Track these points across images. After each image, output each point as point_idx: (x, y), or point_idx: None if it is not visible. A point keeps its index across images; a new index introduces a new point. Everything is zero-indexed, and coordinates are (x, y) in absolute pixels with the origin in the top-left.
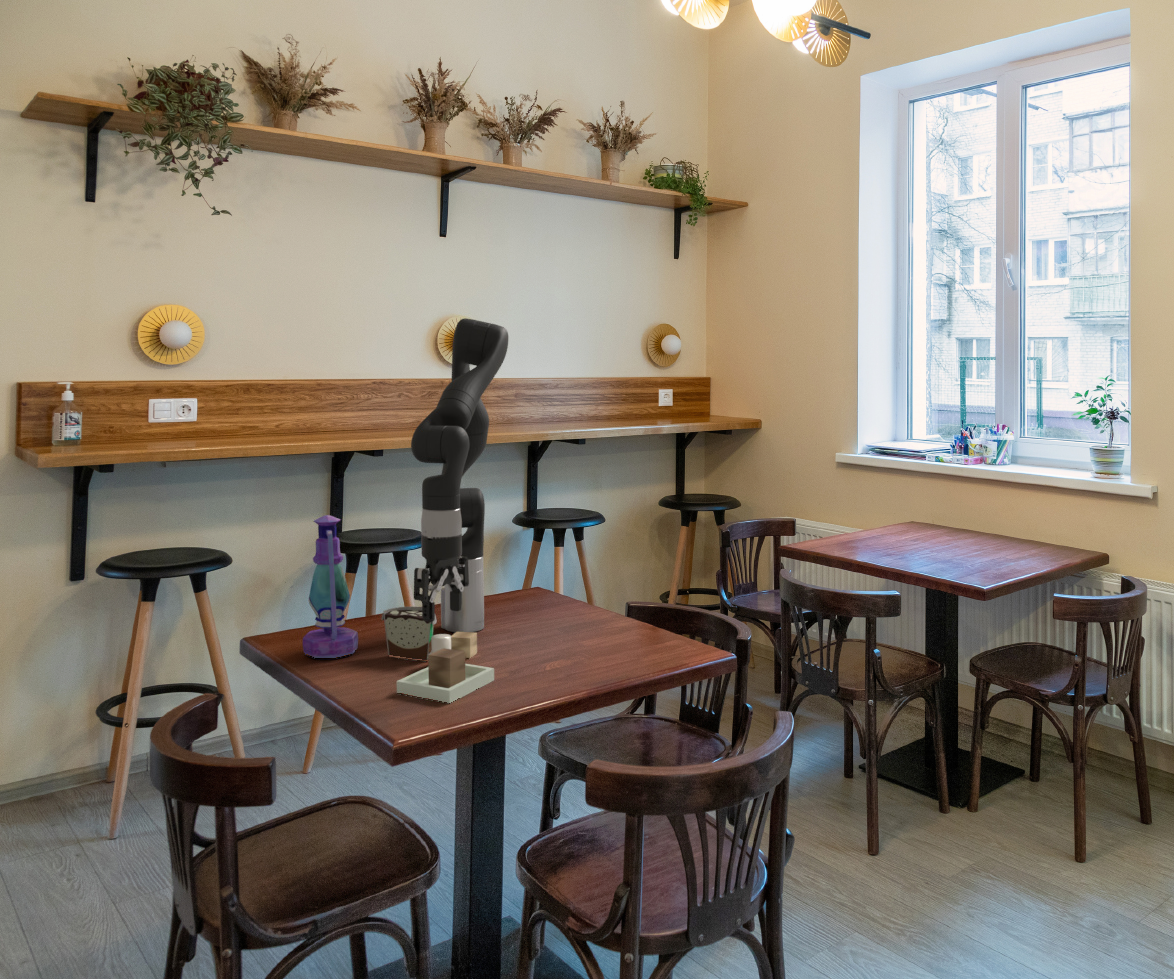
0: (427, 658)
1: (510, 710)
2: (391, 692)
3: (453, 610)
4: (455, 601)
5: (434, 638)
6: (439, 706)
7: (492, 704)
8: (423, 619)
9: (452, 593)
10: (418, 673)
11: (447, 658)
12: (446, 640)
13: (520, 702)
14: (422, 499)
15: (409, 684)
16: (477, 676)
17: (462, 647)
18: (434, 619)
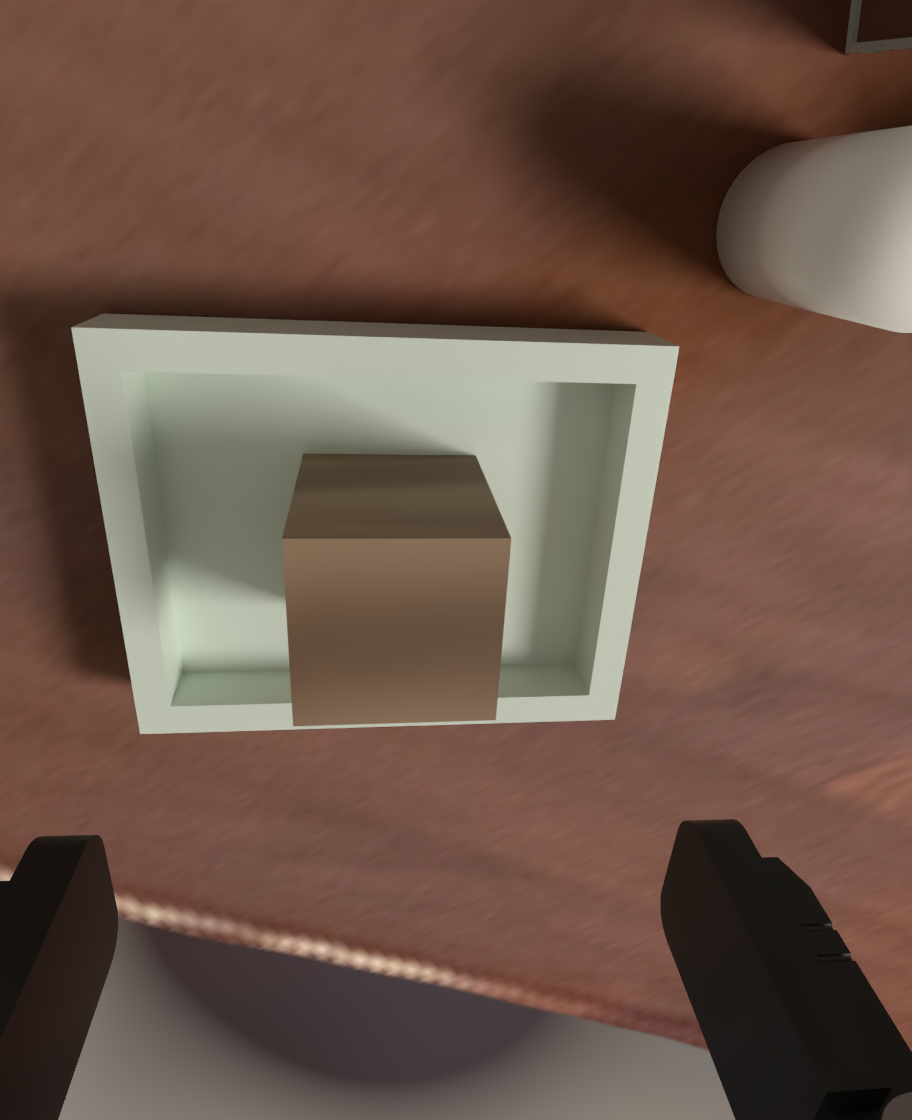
0: (862, 47)
1: (249, 922)
2: (103, 256)
3: (672, 851)
4: (723, 994)
5: (862, 204)
6: (94, 666)
7: (272, 838)
8: (32, 845)
9: (797, 1093)
10: (313, 370)
11: (293, 703)
12: (864, 321)
13: (358, 906)
14: None
15: (94, 447)
16: (442, 722)
17: None
18: (106, 960)
